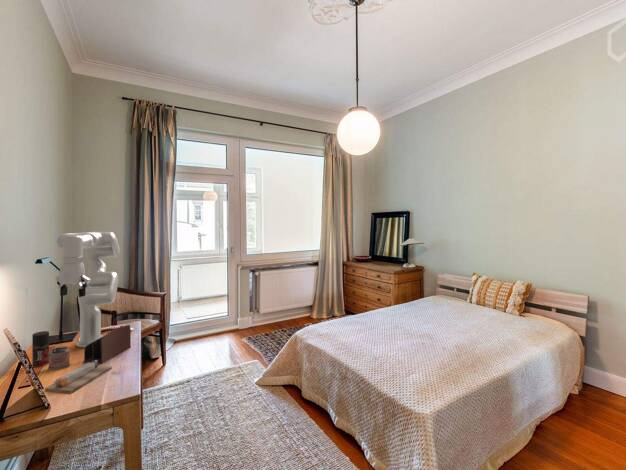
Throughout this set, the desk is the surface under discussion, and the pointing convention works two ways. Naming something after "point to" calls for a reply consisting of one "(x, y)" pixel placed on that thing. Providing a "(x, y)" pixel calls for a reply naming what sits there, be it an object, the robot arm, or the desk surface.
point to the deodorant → (40, 348)
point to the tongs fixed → (72, 372)
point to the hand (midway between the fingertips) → (72, 295)
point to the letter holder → (108, 345)
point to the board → (80, 380)
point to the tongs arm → (77, 374)
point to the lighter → (59, 358)
